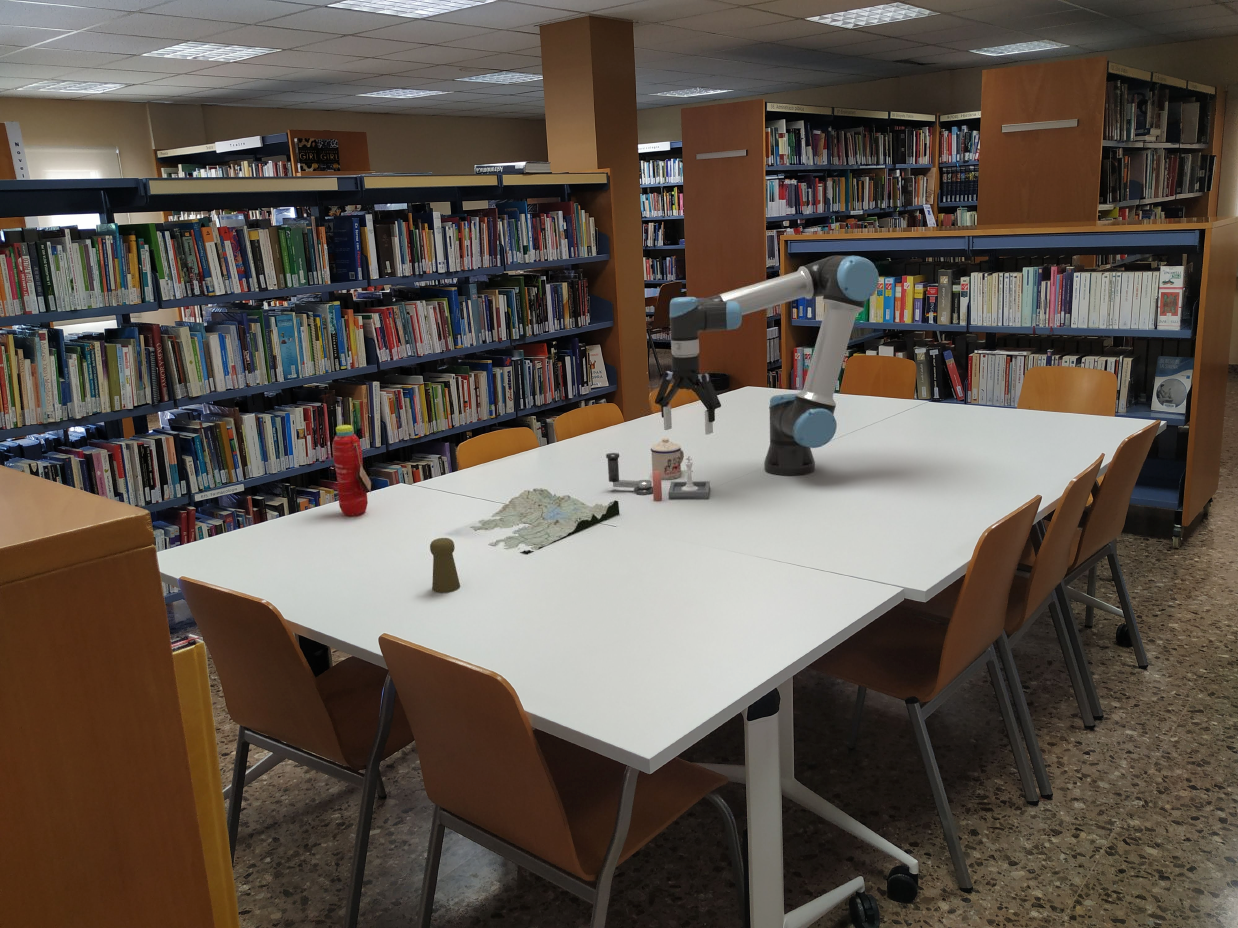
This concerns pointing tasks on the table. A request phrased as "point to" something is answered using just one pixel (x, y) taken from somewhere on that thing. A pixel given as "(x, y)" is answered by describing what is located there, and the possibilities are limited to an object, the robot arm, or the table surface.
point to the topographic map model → (545, 518)
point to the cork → (444, 566)
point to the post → (657, 486)
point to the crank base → (643, 491)
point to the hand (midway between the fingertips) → (688, 431)
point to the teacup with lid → (667, 459)
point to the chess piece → (689, 477)
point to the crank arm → (614, 475)
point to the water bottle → (350, 472)
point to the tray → (678, 494)
